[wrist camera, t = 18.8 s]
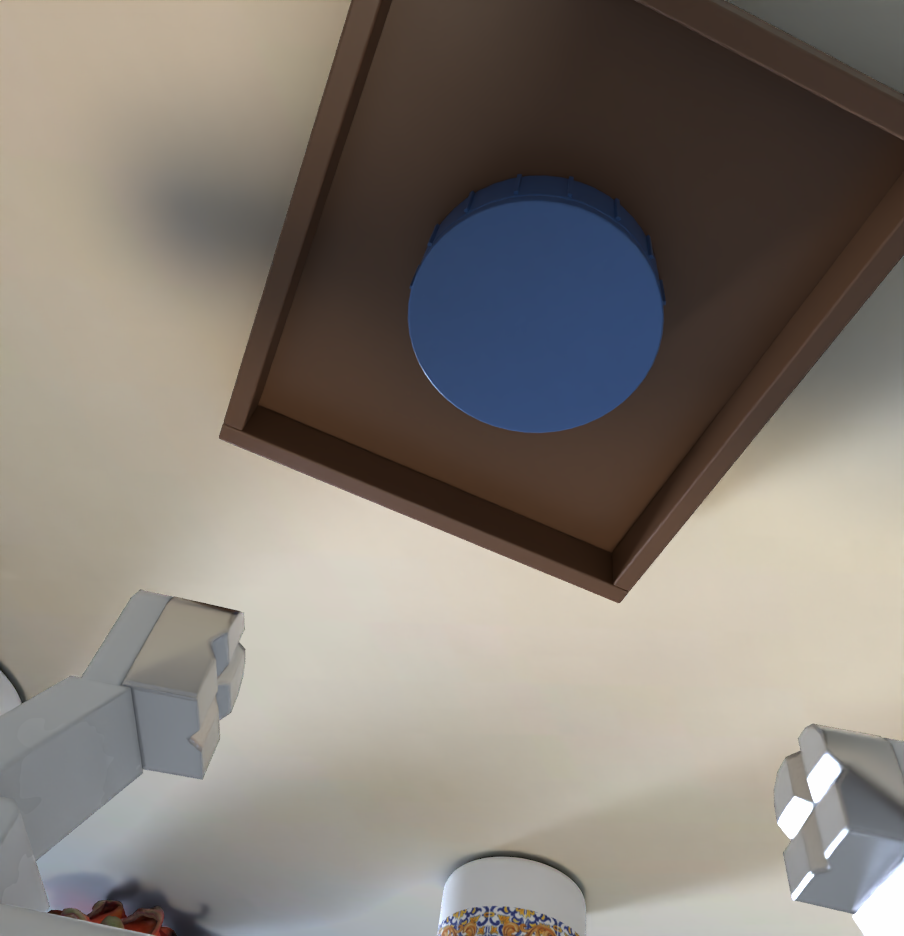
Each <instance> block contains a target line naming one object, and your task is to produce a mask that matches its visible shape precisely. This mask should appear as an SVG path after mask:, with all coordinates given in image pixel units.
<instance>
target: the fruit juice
mask: <svg viewBox="0 0 904 936" xmlns="http://www.w3.org/2000/svg"><path fill="white" fill-rule="evenodd" d="M20 704H22V703H21V700H20V697H19V695H18V693H17V692H16V690H15V688H14V687H13V685H12V684H11V682H10V681H9V680H8V678H7V677H6V676H5V675H4V674H3V673H2V671H1V670H0V716H1V715H3V714H5V713H7V712H8V711H10V710H12V709H14V708H15V707H17V706H19V705H20Z"/></svg>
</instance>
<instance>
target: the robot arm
mask: <svg viewBox="0 0 904 936" xmlns="http://www.w3.org/2000/svg"><path fill="white" fill-rule="evenodd" d="M244 630H245V622H244V613H243V612H241V611H237V610H232V609H228V608H223V607H219V606H214V605H210V604H206V603H201V602H197V601H192V600H188V599H183V598H179V597H173V596H169V595H164V594H159V593H155V592H150V591H145V590H141V589H140V590H139V591H138V592H137V593H136V594H134V595H133V596H132V597H131V598H130V600H129V601H128V603H127V604H126V606H125V608H124V609H123V611H122V612H121V614H120V616H119V617H118V619H117V620H116V622H115V624H114V625H113V627H112V628H111V630H110V632H109V633H108V635H107V636H106V638H105V640H104V641H103V643H102V644H101V646H100V648H99V649H98V651H97V653H96V654H95V656H94V657H93V659H92V661H91V662H90V664H89V665H88V667H87V669H86V670H85V672H84V673H83V675H82V677H76V676H69V677H67V678H66V679H64V680H62V681H60V682H59V683H57V684H55V685H54V686H52V687H50V688H48V689H47V690H45V691H43V692H41V693H40V694H38V695H36V696H34V697H33V698H31V699H29V700H27V701H26V702H24V703H22V704H20V705H19V706H17V707H15V708H14V709H12V710H10V711H8V712H7V713H5V714H3V715H1V716H0V936H156V935H151V934H146V933H141V932H136V931H132V930H127V929H122V928H117V927H112V926H108V925H103V924H98V923H93V922H89V921H84V920H79V919H74V918H70V917H65V916H60V915H55V914H50V913H47V911H48V909H49V907H50V905H49V902H48V899H47V896H46V893H45V889H44V886H43V883H42V880H41V877H40V874H39V870H38V867H37V864H36V860H38V859H39V858H40V857H41V856H43V855H44V854H45V853H46V852H47V851H49V850H50V849H51V848H52V847H54V846H55V845H56V844H57V843H58V842H60V841H61V840H62V839H63V838H64V837H66V836H67V835H68V834H69V833H71V832H72V831H73V830H74V829H75V828H77V827H78V826H79V825H80V824H81V823H83V822H84V821H85V820H86V819H88V818H89V817H90V816H91V815H92V814H94V813H95V812H96V811H97V810H98V809H100V808H101V807H102V806H103V805H105V804H106V803H107V802H108V801H109V800H111V799H112V798H113V797H114V796H116V795H117V794H118V793H119V792H120V791H122V790H123V789H124V788H125V787H126V786H128V785H129V784H130V783H131V782H133V781H134V780H135V779H136V778H137V777H139V776H140V775H141V774H142V773H143V769H145V770H151V771H157V772H162V773H168V774H174V775H179V776H185V777H191V778H197V779H202V780H203V778H204V775H205V773H206V771H207V768H208V766H209V764H210V761H211V759H212V756H213V754H214V752H215V749H216V747H217V745H218V742H219V740H220V727H219V720H221V719H222V718H224V717H225V716H227V715H228V714H230V713H231V712H232V709H233V707H234V704H235V702H236V699H237V697H238V693H239V690H240V686H241V683H242V679H243V675H244V667H245V648H244V647H243V646H242V645H241V644H240V642H239V641H240V639H241V636H242V634H243V632H244ZM798 741H799V746H800V750H801V751H799V752H797V753H794V754H792V755H790V756H787V757H786V758H785V759H784V761H783V763H782V765H781V766H780V768H779V770H778V772H777V777H776V782H775V787H774V807H775V813H776V819H777V823H778V824H779V826H780V827H781V828H782V829H783V831H784V832H785V833H786V834H787V836H788V837H789V838H790V839H791V841H790V843H789V844H788V846H787V847H786V849H785V851H784V852H783V856H784V861H785V866H786V871H787V876H788V881H789V886H790V891H791V896H792V900H795V901H800V902H804V903H808V904H813V905H817V906H821V907H826V908H830V909H834V910H839V911H843V912H847V913H852V914H855V915H854V916H853V918H854V920H855V921H856V923H857V924H858V926H859V927H860V929H861V930H862V932H863V933H864V935H865V936H904V741H899V740H894V739H889V738H882V737H881V736H877V735H872V734H866V733H861V732H855V731H850V730H845V729H839V728H834V727H828V726H823V725H818V724H811V725H809V726H807V727H806V728H805V729H804V730H803V732H802V733H801V735H800V736H799V738H798Z"/></svg>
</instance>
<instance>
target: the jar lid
mask: <svg viewBox="0 0 904 936" xmlns="http://www.w3.org/2000/svg"><path fill="white" fill-rule="evenodd" d="M427 245H428V247H427V249H426V251H425V254H424V256H423V259H422V261H421V263H420V265H418V267H417V270H416V272H415V275H414V277H413V279H412V282H411V284H410V289H411V292H410V297H409V303H408V326H409V334H410V338H411V342H412V347H413V349H414V352H415V355H416V357H417V360H418V362H419V364H420V366H421V367H422V369H423V371H424V373H425V375H426V376H427V377H428V379H429V380H430V381H431V383H432V384H433V386H434V387H435V388H436V389H437V390H438V391H439V392H440V393H441V394H442V395H443V396H444V397H445V398H446V399H447V400H448V401H450V402H451V403H452V404H453V405H454V406H456V407H457V408H459V409H460V410H462V411H463V412H465V413H466V414H468V415H470V416H472V417H474V418H476V419H478V420H480V421H482V422H484V423H487V424H490V425H492V426H495V427H499V428H503V429H507V430H512V431H519V432H530V433H544V432H556V431H561V430H566V429H571V428H574V427H578V426H581V425H584V424H587V423H589V422H591V421H593V420H596V419H598V418H600V417H602V416H603V415H605V414H607V413H608V412H610V411H612V410H613V409H615V408H616V407H617V406H618V405H620V404H621V403H622V402H624V401H625V400H626V399H627V398H628V397H629V396H630V395H631V394H632V393H633V392H634V391H635V390H636V389H637V388H638V386H639V385H640V384H641V382H642V381H643V380H644V378H645V377H646V375H647V374H648V372H649V370H650V368H651V367H652V365H653V363H654V360H655V358H656V356H657V353H658V351H659V347H660V343H661V339H662V335H663V324H664V310H663V305H666V299H665V293H664V287H663V281H662V280H659V274H658V269H657V264H656V259H655V256H654V254H653V250H652V243H651V238H650V236H649V235H647V236H645V234H644V232H643V230H642V229H641V227H640V226H639V225H638V223H637V222H636V221H635V219H634V218H633V217H632V216H631V215H630V214H629V213H628V212H627V211H626V210H625V209H624V208H623V207H622V206H621V205H620V200H619V199H618V198H616V199H615V200H613V199H612V198H611V197H610V196H608V195H606V194H604V193H603V192H601V191H599V190H597V189H596V188H594V187H591V186H589V185H586V184H584V183H581V182H578V181H574V177H571V176H569V179H566V178H563V177H554V176H524V177H522V174H517V178H511V179H508V180H504V181H501V182H498V183H495V184H492V185H490V186H488V187H486V188H483V189H481V190H479V191H478V192H476V193H475V192H474V191H471V192H470V193H469V196H468V198H466V199H465V200H464V201H463V202H461V203H460V204H459V205H458V206H456V207H455V208H454V209H453V210H452V211H451V212H450V213H449V214H448V216H447V217H446V218H445V219H444V220H443V221H442V223H441V224H440V225H439V224H438V223H437V224H436V225H435V227H434V230H433V232H432V235H431V237H430V239H429V242H428V244H427Z"/></svg>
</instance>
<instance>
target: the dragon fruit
mask: <svg viewBox="0 0 904 936" xmlns="http://www.w3.org/2000/svg"><path fill="white" fill-rule="evenodd" d="M92 909H93V911H92V912H91V913H90V914H88V915H87V916H86V915H85V914H83V913H82V912H81V911H79V910H77V909H73V908H67V909H63V911H60V910H51V911H49V912H48V913H50V914H55V915H60V916H65V917H70V918H74V919H79V920H84V921H89V922H93V923H98V924H103V925H108V926H112V927H117V928H122V929H127V930H132V931H136V932H141V933H146V934H151V935H156V936H177V935H176V933H175V931H174V930H172V929H171V928H169V927H161V925H162V923H163V919H164V912H163V910H162V908H161V907H159V906H155V907H153V908H150V909H149V908H147V909H146V908H139V909H137V911H136V912H134V913H133V915H130V916H128V917H127V916H126V915H125V911H124V909H123V905H122V903H121V902H119V901H113V900H102V901H98V902H97V903H96V904H95V905H94V906H93V908H92Z"/></svg>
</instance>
